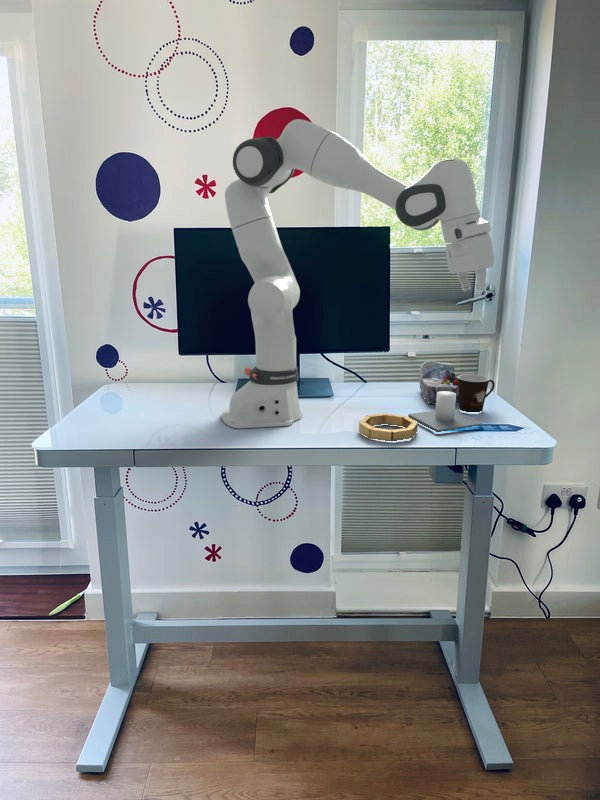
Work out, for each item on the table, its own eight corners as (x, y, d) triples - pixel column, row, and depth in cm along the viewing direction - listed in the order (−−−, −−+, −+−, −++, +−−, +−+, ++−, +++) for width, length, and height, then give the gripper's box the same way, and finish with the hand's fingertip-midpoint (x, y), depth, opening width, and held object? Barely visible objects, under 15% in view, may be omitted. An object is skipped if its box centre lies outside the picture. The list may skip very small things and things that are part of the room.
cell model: (449, 357, 188) (475, 373, 169) (446, 389, 192) (471, 408, 173) (410, 358, 187) (432, 374, 168) (408, 390, 190) (429, 409, 171)
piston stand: (437, 435, 149) (439, 403, 147) (408, 419, 162) (409, 389, 159) (482, 428, 154) (485, 397, 152) (450, 413, 166) (452, 384, 164)
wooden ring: (377, 445, 142) (377, 434, 141) (351, 428, 154) (351, 417, 153) (426, 438, 147) (426, 427, 146) (397, 421, 159) (397, 411, 158)
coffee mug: (459, 416, 164) (462, 381, 161) (451, 406, 173) (454, 374, 170) (500, 416, 164) (504, 381, 161) (491, 407, 172) (494, 374, 170)
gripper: (435, 239, 145) (447, 293, 147) (465, 229, 125) (477, 292, 127) (460, 232, 145) (470, 287, 148) (493, 221, 125) (505, 285, 127)
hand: (474, 290), depth 137 cm, fingers open, 8 cm apart
